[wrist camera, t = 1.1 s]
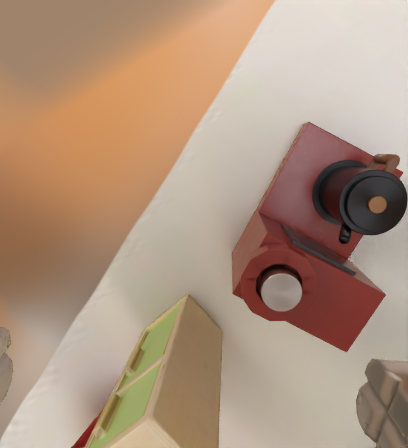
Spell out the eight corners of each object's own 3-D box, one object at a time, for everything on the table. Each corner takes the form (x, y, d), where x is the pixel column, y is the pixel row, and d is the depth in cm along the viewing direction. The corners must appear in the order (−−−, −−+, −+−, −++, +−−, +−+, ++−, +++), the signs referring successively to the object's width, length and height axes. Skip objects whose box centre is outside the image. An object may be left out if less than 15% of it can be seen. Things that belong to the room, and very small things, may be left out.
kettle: (394, 167, 36) (440, 172, 28) (347, 241, 38) (378, 265, 30) (345, 141, 36) (378, 138, 28) (301, 217, 37) (319, 234, 30)
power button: (305, 276, 28) (310, 285, 26) (285, 308, 28) (289, 318, 26) (271, 259, 27) (273, 266, 26) (252, 291, 28) (253, 300, 26)
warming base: (392, 171, 38) (455, 178, 28) (340, 252, 41) (380, 289, 30) (303, 123, 38) (332, 112, 27) (256, 208, 40) (265, 229, 30)
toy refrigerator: (185, 287, 43) (143, 411, 22) (224, 330, 44) (219, 488, 23) (137, 325, 44) (58, 474, 24) (176, 366, 45) (132, 545, 25)
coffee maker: (340, 252, 41) (396, 304, 27) (313, 295, 42) (353, 365, 28) (252, 206, 40) (264, 235, 27) (228, 251, 42) (227, 300, 28)
